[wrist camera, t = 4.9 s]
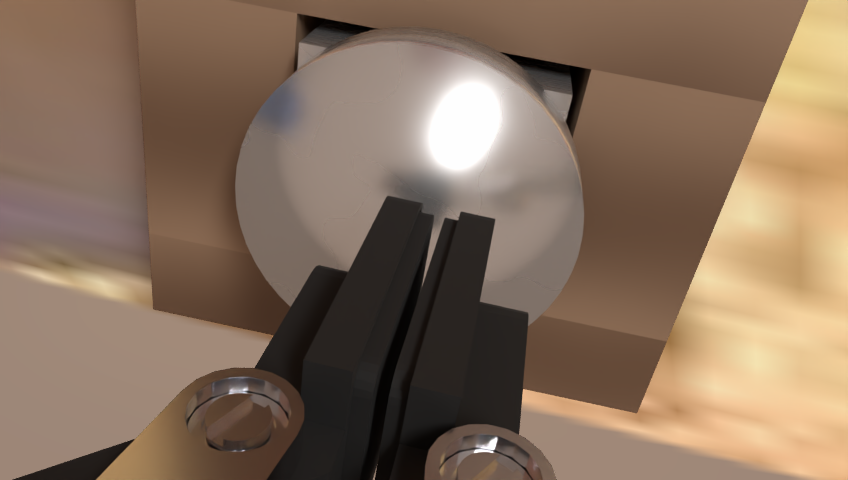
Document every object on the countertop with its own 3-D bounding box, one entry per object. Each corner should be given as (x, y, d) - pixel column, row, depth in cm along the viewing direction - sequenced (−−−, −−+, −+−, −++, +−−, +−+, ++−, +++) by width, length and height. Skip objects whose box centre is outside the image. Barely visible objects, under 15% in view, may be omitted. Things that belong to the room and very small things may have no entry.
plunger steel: (345, -51, 18) (237, 9, 11) (599, -4, 17) (631, 85, 11) (325, 178, 21) (233, 322, 15) (539, 222, 21) (537, 387, 14)
